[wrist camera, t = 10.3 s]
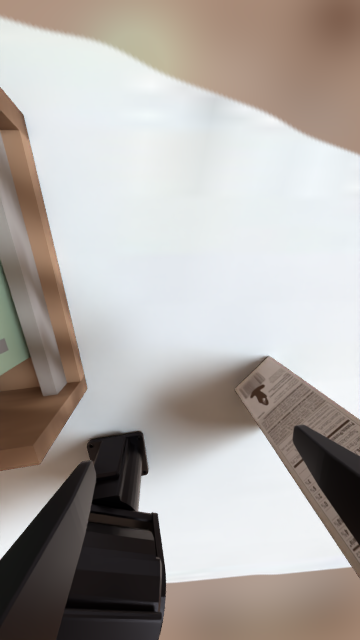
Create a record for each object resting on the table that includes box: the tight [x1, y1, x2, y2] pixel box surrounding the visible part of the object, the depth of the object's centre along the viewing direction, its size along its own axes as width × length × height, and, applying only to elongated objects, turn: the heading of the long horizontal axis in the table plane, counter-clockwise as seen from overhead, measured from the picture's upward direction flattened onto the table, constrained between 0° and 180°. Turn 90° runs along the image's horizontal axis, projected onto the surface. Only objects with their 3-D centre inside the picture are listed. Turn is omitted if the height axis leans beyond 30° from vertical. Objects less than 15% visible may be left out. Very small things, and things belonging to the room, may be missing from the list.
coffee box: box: [235, 356, 360, 578], centre depth 15 cm, size 9×6×16 cm
